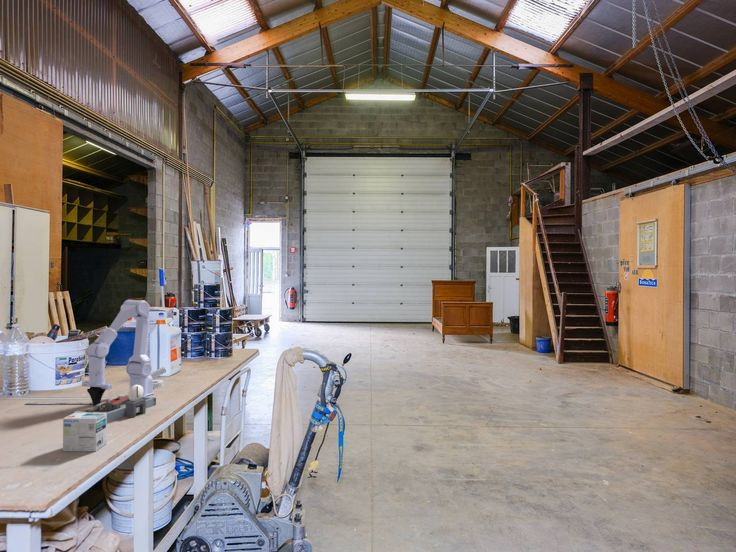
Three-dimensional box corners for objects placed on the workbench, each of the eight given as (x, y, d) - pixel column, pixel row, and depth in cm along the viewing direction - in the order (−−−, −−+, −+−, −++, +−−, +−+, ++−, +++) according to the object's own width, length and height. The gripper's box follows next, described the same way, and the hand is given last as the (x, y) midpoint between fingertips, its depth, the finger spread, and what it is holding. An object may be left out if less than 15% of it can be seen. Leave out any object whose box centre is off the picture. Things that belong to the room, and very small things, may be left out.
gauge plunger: (124, 409, 186) (124, 404, 186) (139, 411, 184) (139, 406, 184) (120, 410, 184) (120, 405, 184) (135, 413, 182) (135, 408, 182)
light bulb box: (107, 444, 152) (107, 411, 152) (96, 452, 146) (96, 418, 145) (74, 444, 152) (74, 411, 152) (61, 452, 145) (62, 418, 145)
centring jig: (131, 401, 201) (132, 374, 201) (165, 406, 195) (165, 378, 195) (73, 419, 176) (74, 388, 176) (110, 425, 170) (110, 393, 170)
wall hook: (168, 367, 226) (146, 370, 220) (168, 387, 226) (146, 390, 220) (164, 364, 233) (142, 367, 227) (163, 383, 233) (142, 386, 227)
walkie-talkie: (114, 402, 200) (82, 416, 180) (114, 392, 200) (82, 405, 180) (133, 403, 200) (103, 417, 180) (133, 392, 200) (103, 406, 180)
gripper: (75, 372, 189) (74, 405, 189) (101, 376, 184) (100, 409, 184) (90, 369, 195) (90, 401, 195) (116, 372, 190) (115, 405, 190)
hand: (96, 405), depth 190 cm, fingers closed
